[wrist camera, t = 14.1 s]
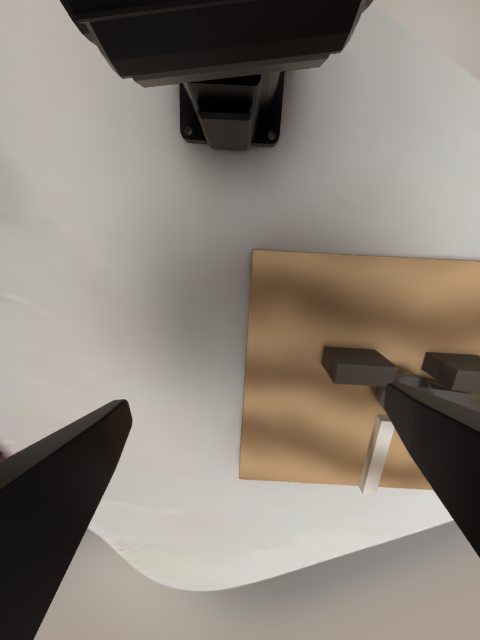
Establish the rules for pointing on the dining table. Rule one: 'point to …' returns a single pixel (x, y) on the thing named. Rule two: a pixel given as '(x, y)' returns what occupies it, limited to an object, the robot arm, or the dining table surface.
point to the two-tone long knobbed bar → (432, 390)
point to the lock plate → (348, 361)
